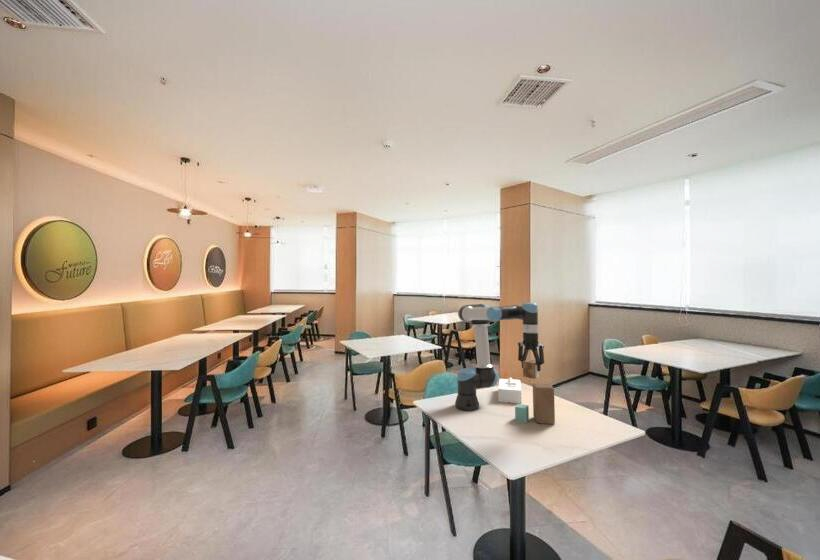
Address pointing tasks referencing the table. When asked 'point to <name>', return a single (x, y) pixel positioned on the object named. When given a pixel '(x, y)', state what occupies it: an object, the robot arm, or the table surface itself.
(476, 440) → the table surface
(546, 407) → the block
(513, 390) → the tissue box
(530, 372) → the walnut block
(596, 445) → the table surface
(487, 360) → the robot arm
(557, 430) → the table surface
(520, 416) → the teal block
